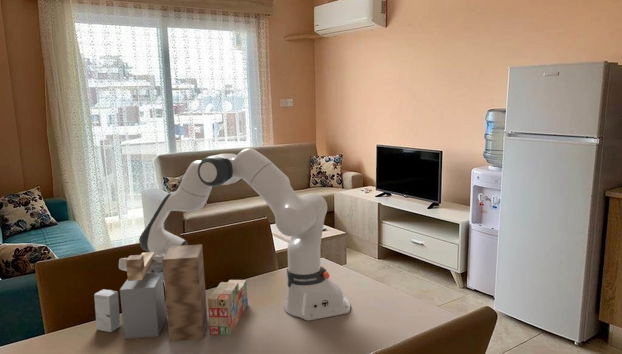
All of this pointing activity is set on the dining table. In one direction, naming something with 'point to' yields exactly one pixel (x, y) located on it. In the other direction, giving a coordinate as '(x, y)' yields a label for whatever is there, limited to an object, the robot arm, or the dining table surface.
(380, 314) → the dining table surface
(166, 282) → the tall stand
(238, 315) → the stack of blocks
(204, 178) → the robot arm
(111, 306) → the skincare box
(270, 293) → the dining table surface
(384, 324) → the dining table surface
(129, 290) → the pale grey upright box
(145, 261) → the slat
